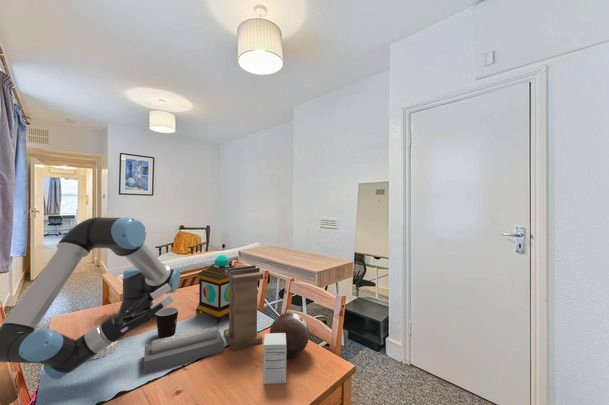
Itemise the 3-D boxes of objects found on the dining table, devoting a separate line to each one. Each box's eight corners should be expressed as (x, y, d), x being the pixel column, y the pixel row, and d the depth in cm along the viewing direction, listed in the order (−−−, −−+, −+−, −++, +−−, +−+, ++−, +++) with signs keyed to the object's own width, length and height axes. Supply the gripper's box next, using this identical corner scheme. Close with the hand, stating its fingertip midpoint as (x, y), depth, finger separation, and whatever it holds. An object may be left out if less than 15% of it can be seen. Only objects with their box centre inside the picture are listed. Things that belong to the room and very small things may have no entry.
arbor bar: (151, 349, 93) (151, 340, 93) (215, 333, 104) (215, 326, 104) (151, 353, 90) (152, 344, 90) (217, 337, 102) (217, 329, 102)
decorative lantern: (249, 311, 135) (250, 254, 135) (218, 326, 119) (219, 261, 119) (223, 302, 146) (224, 249, 146) (191, 315, 129) (192, 255, 129)
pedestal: (223, 334, 111) (224, 266, 111) (250, 328, 118) (251, 263, 118) (232, 351, 99) (234, 274, 99) (262, 342, 106) (263, 270, 106)
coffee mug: (168, 341, 106) (168, 316, 106) (150, 338, 108) (150, 314, 107) (186, 327, 117) (187, 305, 117) (170, 325, 119) (170, 303, 119)
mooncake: (120, 351, 98) (121, 342, 98) (79, 365, 90) (79, 355, 90) (114, 339, 107) (114, 330, 107) (75, 351, 98) (76, 341, 98)
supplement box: (264, 369, 89) (264, 332, 89) (285, 368, 90) (286, 332, 90) (262, 384, 82) (263, 344, 82) (286, 383, 82) (286, 344, 82)
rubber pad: (144, 356, 95) (144, 345, 95) (217, 338, 109) (217, 328, 109) (144, 373, 86) (144, 361, 86) (223, 351, 99) (224, 340, 99)
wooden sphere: (312, 364, 92) (312, 322, 92) (269, 368, 90) (270, 324, 90) (305, 341, 107) (305, 305, 107) (268, 344, 105) (269, 307, 105)
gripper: (117, 326, 97) (173, 289, 106) (108, 362, 75) (179, 312, 85) (105, 310, 95) (163, 274, 104) (92, 343, 73) (167, 294, 83)
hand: (170, 291), depth 95 cm, fingers open, 13 cm apart
